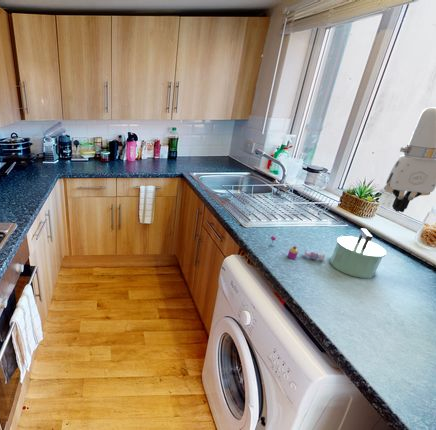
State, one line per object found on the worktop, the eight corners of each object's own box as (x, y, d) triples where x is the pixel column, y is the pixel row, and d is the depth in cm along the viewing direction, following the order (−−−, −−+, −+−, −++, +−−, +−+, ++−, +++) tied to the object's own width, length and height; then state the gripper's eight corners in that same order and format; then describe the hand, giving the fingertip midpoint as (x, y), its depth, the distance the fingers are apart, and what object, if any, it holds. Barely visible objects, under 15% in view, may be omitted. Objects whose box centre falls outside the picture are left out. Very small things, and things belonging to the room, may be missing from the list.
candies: (320, 256, 110) (325, 242, 107) (323, 266, 103) (328, 252, 101) (268, 244, 117) (272, 231, 115) (268, 253, 111) (272, 239, 108)
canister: (366, 262, 107) (375, 242, 103) (379, 281, 96) (390, 260, 92) (326, 254, 111) (334, 235, 107) (335, 272, 100) (343, 251, 97)
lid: (375, 243, 104) (383, 227, 101) (392, 263, 92) (401, 246, 89) (331, 236, 108) (337, 220, 106) (341, 253, 97) (348, 237, 94)
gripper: (396, 153, 83) (373, 211, 90) (466, 157, 78) (435, 218, 85) (385, 148, 89) (364, 202, 97) (449, 152, 84) (422, 209, 91)
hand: (397, 210), depth 91 cm, fingers closed
